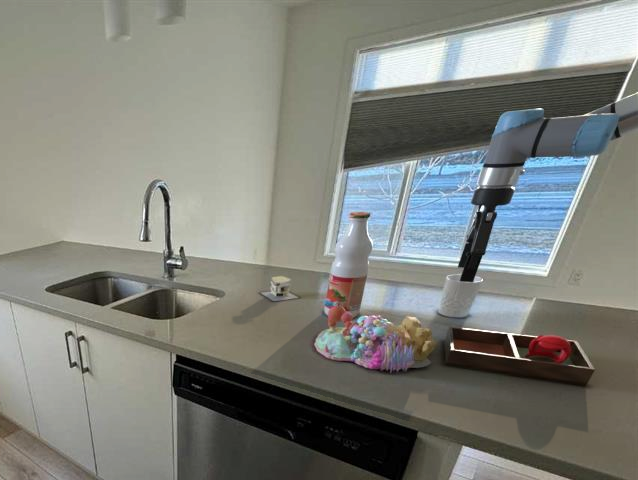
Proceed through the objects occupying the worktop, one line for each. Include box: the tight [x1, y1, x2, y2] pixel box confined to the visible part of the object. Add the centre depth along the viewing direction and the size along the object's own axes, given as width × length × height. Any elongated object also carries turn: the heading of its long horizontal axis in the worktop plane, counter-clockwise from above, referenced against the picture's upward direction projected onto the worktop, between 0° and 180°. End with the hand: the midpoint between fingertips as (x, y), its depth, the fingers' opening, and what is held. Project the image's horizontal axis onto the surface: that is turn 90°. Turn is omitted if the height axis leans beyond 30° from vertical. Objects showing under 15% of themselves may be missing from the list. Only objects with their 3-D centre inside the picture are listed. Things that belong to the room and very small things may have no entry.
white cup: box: [437, 273, 484, 319], centre depth 111 cm, size 8×8×10 cm
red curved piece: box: [525, 334, 571, 364], centre depth 84 cm, size 8×6×6 cm
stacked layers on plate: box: [260, 275, 299, 302], centre depth 137 cm, size 10×9×6 cm
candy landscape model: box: [313, 305, 438, 374], centre depth 96 cm, size 25×24×9 cm
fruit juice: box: [323, 211, 374, 319], centre depth 113 cm, size 9×9×28 cm
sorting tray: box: [444, 326, 596, 387], centre depth 88 cm, size 22×14×4 cm, turn 57°
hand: (464, 274), depth 108 cm, fingers open, 13 cm apart
